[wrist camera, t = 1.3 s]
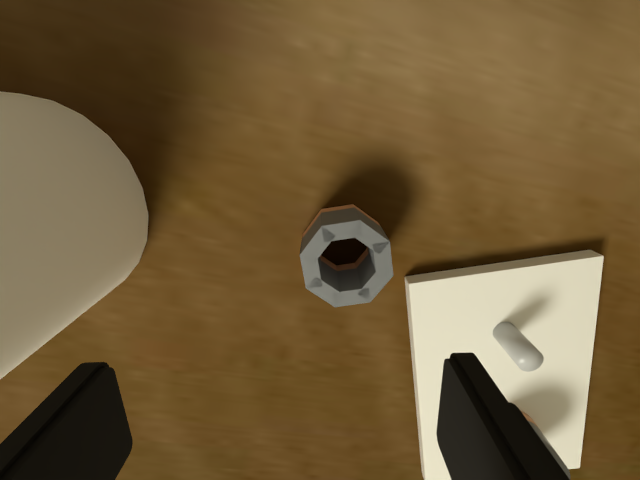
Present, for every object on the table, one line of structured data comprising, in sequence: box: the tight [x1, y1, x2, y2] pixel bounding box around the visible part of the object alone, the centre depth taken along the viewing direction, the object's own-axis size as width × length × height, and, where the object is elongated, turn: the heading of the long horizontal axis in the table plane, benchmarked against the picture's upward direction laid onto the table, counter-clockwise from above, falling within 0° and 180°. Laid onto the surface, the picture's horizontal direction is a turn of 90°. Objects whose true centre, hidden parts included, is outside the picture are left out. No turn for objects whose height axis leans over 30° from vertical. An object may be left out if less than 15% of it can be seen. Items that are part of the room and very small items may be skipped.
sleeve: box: [300, 204, 393, 307], centre depth 27 cm, size 6×6×5 cm
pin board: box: [405, 250, 604, 480], centre depth 31 cm, size 16×24×6 cm, turn 9°
